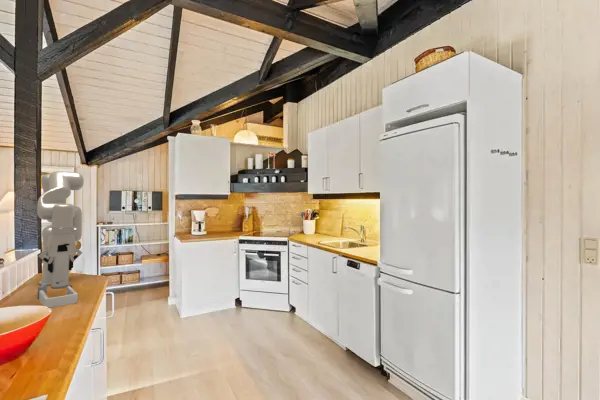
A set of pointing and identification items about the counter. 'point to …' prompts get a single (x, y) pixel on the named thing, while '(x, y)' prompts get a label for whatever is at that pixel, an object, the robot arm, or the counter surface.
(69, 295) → the grey rectangular frame
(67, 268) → the travel mug
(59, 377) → the counter surface
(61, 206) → the robot arm
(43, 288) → the cover gate
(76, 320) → the counter surface
